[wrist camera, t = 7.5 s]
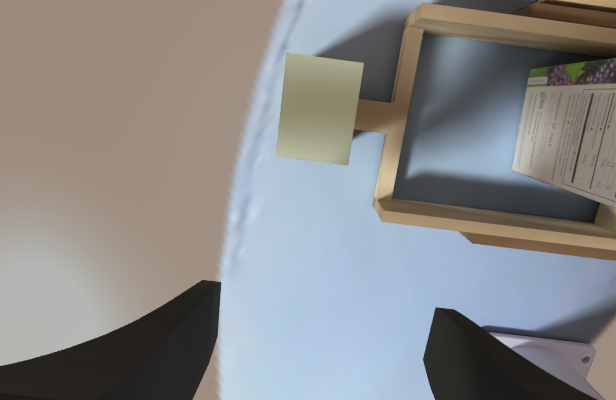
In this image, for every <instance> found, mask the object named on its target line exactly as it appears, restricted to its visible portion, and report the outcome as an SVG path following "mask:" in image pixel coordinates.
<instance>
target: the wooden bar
mask: <svg viewBox="0 0 616 400" xmlns="http://www.w3.org/2000/svg"><path fill="white" fill-rule="evenodd" d="M537 3H543V4H551V5H558V6H565V7H573V8H580V9H587V10H594V11H602V12H609V13H616V0H538V2H537Z"/></svg>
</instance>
